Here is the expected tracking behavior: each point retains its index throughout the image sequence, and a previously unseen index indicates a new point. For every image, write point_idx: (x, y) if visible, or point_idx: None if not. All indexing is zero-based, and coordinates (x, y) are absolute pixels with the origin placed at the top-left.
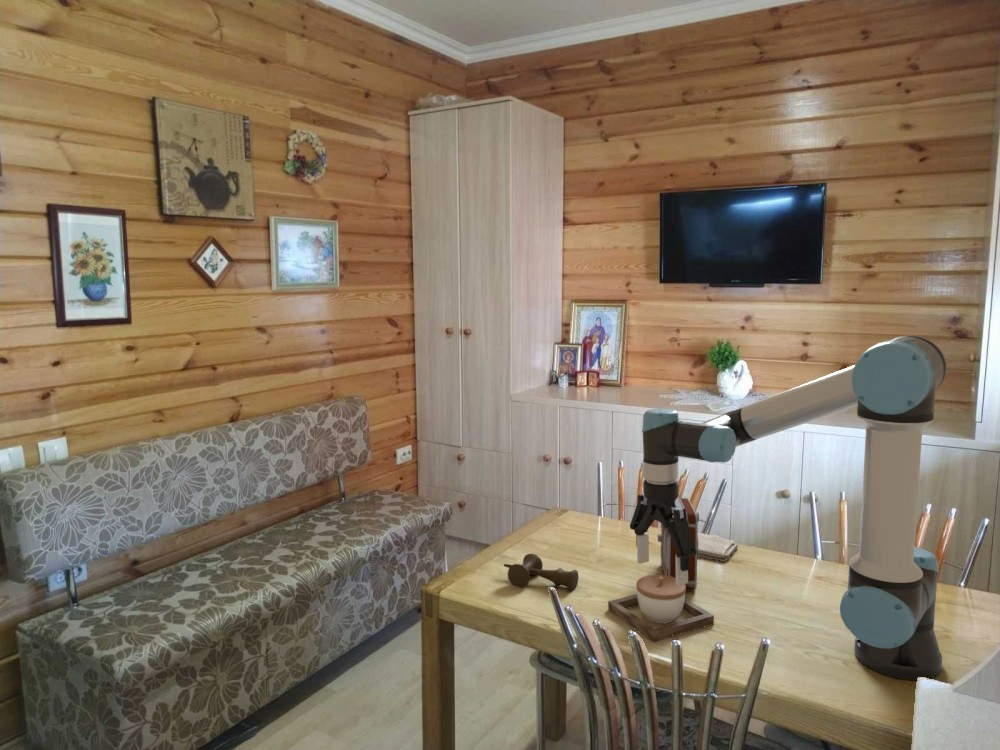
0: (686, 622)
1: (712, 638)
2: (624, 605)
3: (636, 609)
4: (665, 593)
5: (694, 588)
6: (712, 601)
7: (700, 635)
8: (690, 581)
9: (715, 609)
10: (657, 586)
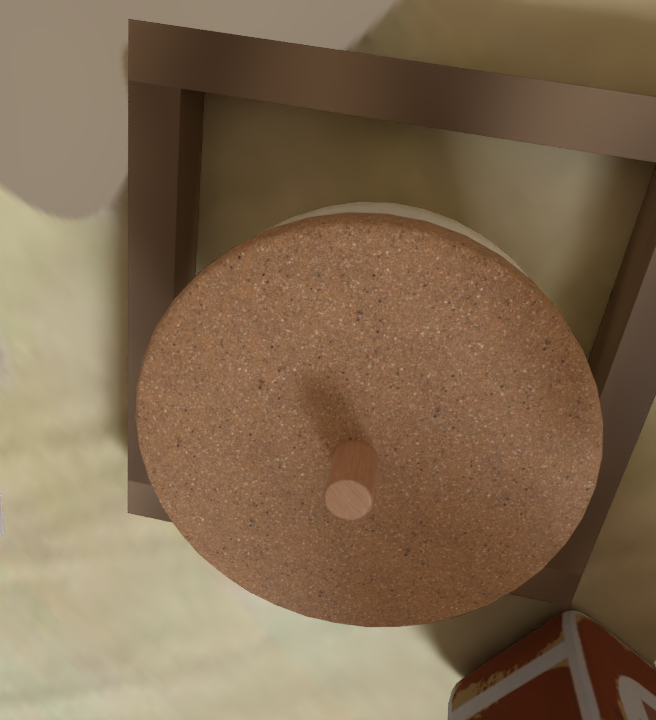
0: (140, 339)
1: (38, 364)
2: (644, 232)
3: (563, 290)
4: (181, 342)
5: (454, 689)
6: (328, 650)
7: (90, 341)
8: (468, 716)
9: (259, 599)
10: (332, 394)
